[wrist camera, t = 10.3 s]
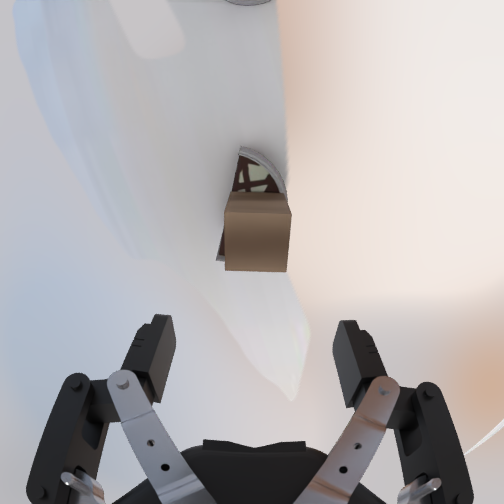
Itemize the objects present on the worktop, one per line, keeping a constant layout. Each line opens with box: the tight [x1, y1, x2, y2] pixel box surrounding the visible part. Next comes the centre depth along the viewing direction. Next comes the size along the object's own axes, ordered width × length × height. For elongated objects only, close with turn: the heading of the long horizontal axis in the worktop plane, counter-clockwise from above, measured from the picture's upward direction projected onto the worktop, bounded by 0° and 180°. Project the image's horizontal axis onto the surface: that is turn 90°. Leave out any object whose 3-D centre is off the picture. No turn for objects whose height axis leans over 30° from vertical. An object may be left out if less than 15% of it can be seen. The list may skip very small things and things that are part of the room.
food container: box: [216, 146, 288, 261], centre depth 32 cm, size 12×6×10 cm, turn 167°
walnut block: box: [224, 192, 292, 272], centre depth 25 cm, size 5×5×6 cm
